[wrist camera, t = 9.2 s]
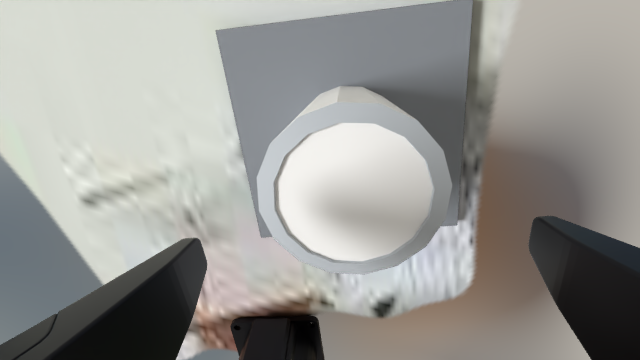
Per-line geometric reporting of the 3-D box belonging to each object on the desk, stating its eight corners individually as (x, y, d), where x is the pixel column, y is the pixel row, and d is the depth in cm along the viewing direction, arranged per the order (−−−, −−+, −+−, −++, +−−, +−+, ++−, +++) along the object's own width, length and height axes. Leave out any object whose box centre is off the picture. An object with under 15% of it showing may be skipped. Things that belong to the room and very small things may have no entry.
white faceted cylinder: (333, 43, 16) (328, 54, 10) (440, 124, 17) (497, 180, 11) (261, 152, 19) (221, 217, 12) (359, 215, 20) (368, 303, 14)
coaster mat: (454, 219, 20) (457, 225, 20) (263, 232, 22) (261, 237, 21) (468, -2, 15) (473, -2, 15) (219, 30, 17) (215, 30, 16)
